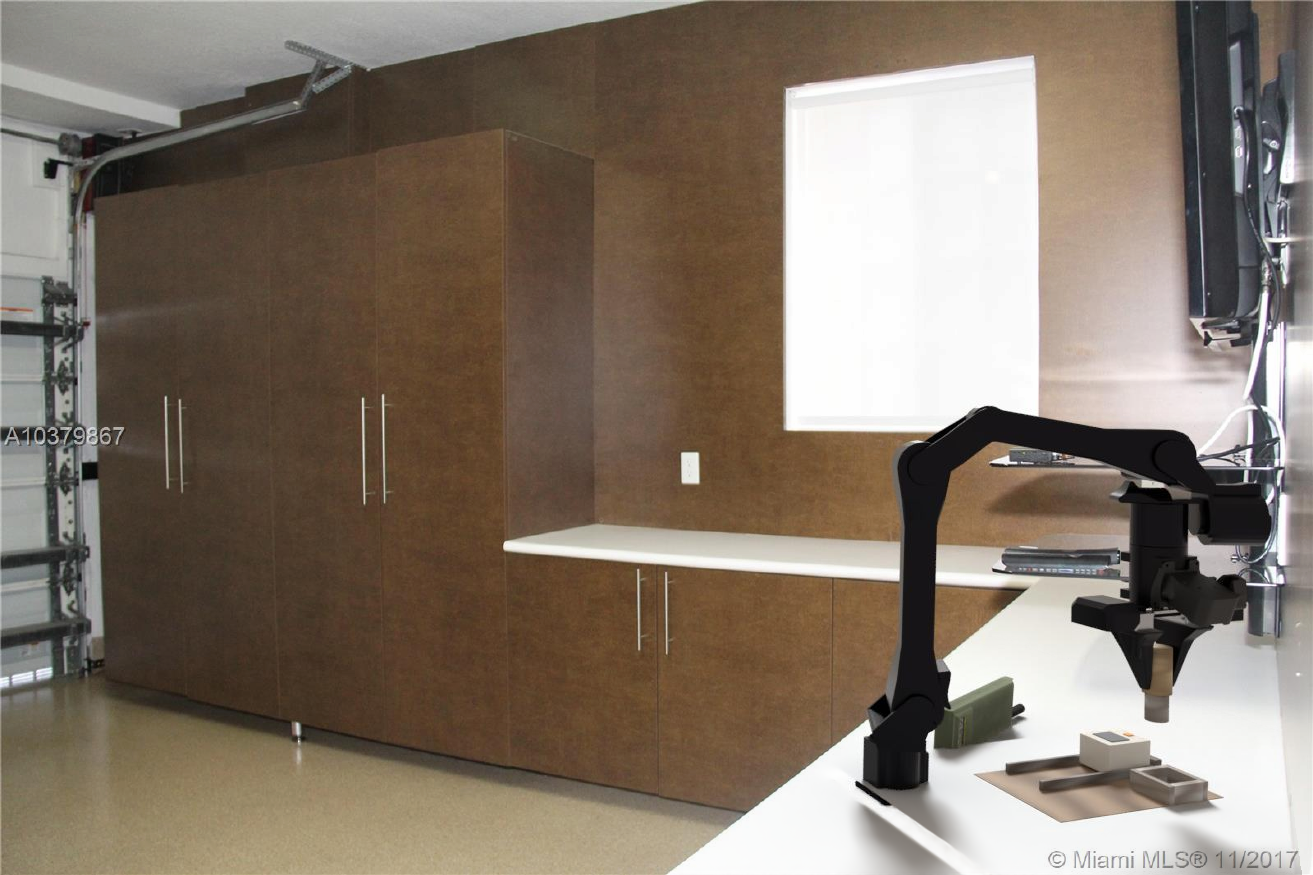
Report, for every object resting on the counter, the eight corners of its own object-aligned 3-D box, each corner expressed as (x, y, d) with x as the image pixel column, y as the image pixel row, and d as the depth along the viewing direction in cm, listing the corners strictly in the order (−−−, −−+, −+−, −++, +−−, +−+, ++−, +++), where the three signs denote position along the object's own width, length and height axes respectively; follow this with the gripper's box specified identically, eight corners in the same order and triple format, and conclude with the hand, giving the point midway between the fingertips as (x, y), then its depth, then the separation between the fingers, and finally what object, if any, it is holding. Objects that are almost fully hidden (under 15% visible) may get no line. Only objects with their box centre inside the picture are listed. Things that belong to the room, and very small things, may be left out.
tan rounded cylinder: (1156, 725, 106) (1157, 650, 106) (1134, 717, 109) (1135, 644, 109) (1178, 722, 107) (1179, 648, 107) (1156, 714, 110) (1157, 642, 110)
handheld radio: (928, 757, 125) (1008, 713, 143) (952, 765, 123) (1031, 719, 141) (931, 705, 124) (1011, 668, 143) (956, 712, 122) (1034, 673, 141)
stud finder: (1108, 775, 114) (1109, 744, 114) (1079, 762, 118) (1080, 732, 118) (1149, 770, 116) (1150, 739, 116) (1119, 757, 120) (1119, 727, 120)
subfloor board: (1060, 836, 101) (1061, 802, 101) (973, 786, 114) (974, 756, 114) (1223, 810, 109) (1224, 779, 109) (1123, 766, 122) (1124, 738, 122)
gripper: (1149, 559, 97) (1147, 718, 97) (1291, 550, 103) (1288, 699, 104) (1068, 544, 108) (1066, 688, 108) (1200, 537, 114) (1199, 673, 114)
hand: (1156, 687), depth 108 cm, fingers closed on tan rounded cylinder, 3 cm apart
